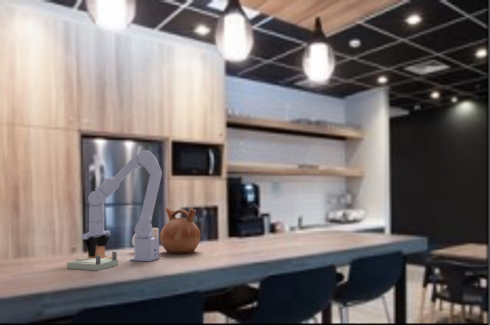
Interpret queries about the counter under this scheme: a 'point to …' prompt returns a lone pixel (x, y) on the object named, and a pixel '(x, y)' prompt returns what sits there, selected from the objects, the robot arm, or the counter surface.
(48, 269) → the counter surface
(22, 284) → the counter surface
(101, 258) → the pallet
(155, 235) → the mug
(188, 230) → the jug
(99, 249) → the orange block
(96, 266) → the dock
